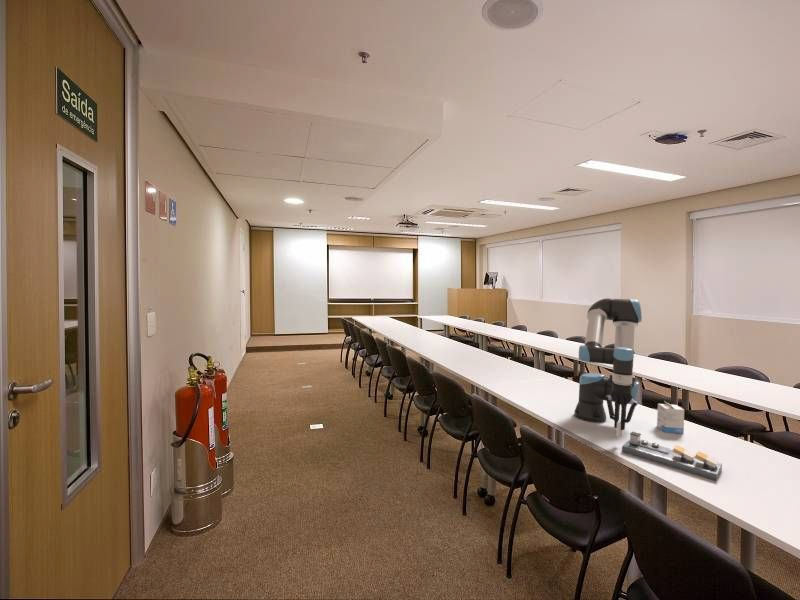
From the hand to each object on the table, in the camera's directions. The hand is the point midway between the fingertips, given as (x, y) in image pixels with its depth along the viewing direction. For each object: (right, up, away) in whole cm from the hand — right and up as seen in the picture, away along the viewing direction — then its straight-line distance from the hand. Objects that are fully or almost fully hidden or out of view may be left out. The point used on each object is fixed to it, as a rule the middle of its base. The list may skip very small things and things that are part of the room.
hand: (619, 436), depth 168 cm
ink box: (+36, -4, +20) cm, 42 cm away
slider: (+4, -1, -4) cm, 6 cm away
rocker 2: (+21, -1, -22) cm, 30 cm away
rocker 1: (+16, -1, -17) cm, 23 cm away
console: (+13, -5, -13) cm, 19 cm away
